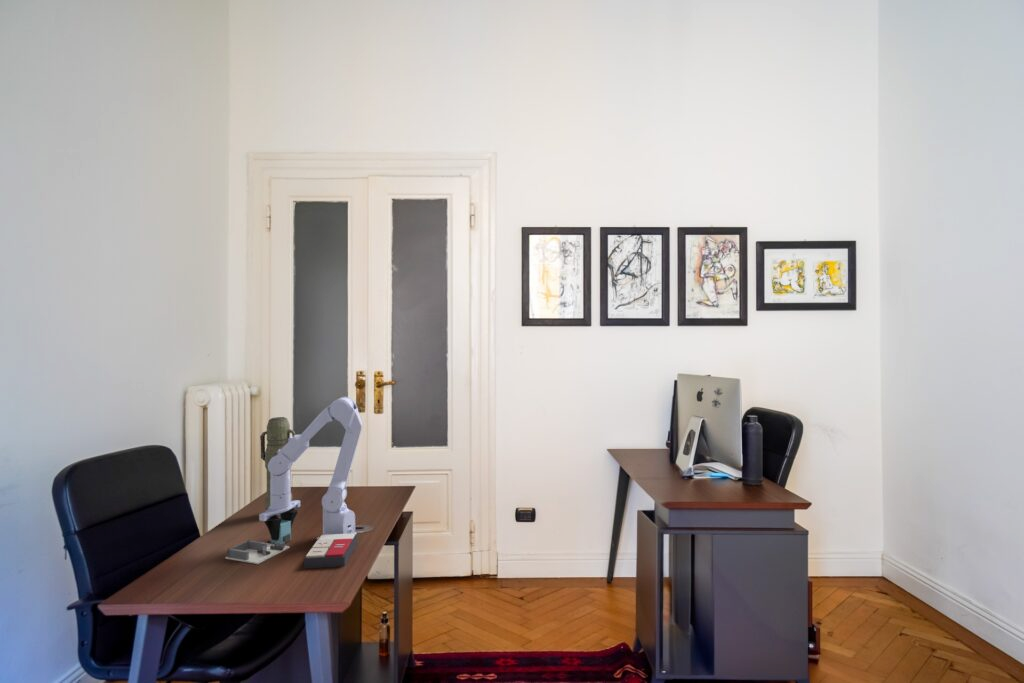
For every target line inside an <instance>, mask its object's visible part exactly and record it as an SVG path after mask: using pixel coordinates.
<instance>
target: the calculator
mask: <svg viewBox="0 0 1024 683" xmlns="http://www.w3.org/2000/svg"><path fill="white" fill-rule="evenodd" d="M318 537H319V539H318V540H317V539H316V541H315V543H314V544H313V545H312V546H311V548H310V549H309V550H308V552H307V554H306V555H305V557H303V568H304V569H316V568H319V569H320V568H333V567H334V568H336V567H338V568H339V567H344V566H346V565H347V563H348V562H349V560H350V558H351V556H352V554H353V553H354V551H355V550H356V548H357V546H358V533H357V534H355V533H351V534H329V535H323V534H321V535H320V536H318Z"/></svg>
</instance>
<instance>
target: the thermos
mask: <svg viewBox="0 0 1024 683" xmlns="http://www.w3.org/2000/svg"><path fill="white" fill-rule="evenodd" d="M290 426H291V425H290V422H289V419H288V418H287V417H284V416H280V417H279V416H278V417H271V418H270V419H268V423H267V425H266V430H265V431H263V432H262V433H261V435H260V437H259V438H260V459H261V460H262V461H264V467H265V470H266V496H265V500H264V508H265V509H264V510H265V511H266V510H268V509H269V507H270V479H271V473H270V472H269V470H268V463H269V461H270V460H271V458H272V457H274V456H276V455H278V453H277V451H278V450H279V449H280V450H281V449H282V448H283V447H284V446H285V445H286V444H287V443H288V442H289V441H288V439H289V438H290V437H291V435H292V437H293V436H294V435H297V434H296V432H295V431H294V430H293V429H291V428H290ZM266 441H267V443H266ZM265 448H266V449H265ZM291 482H292V481H291V474H290V484H291ZM291 485H292V484H291ZM291 501H293V493H292V492H291ZM277 517H280V518H281V515H280V514H279V515H277Z"/></svg>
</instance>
